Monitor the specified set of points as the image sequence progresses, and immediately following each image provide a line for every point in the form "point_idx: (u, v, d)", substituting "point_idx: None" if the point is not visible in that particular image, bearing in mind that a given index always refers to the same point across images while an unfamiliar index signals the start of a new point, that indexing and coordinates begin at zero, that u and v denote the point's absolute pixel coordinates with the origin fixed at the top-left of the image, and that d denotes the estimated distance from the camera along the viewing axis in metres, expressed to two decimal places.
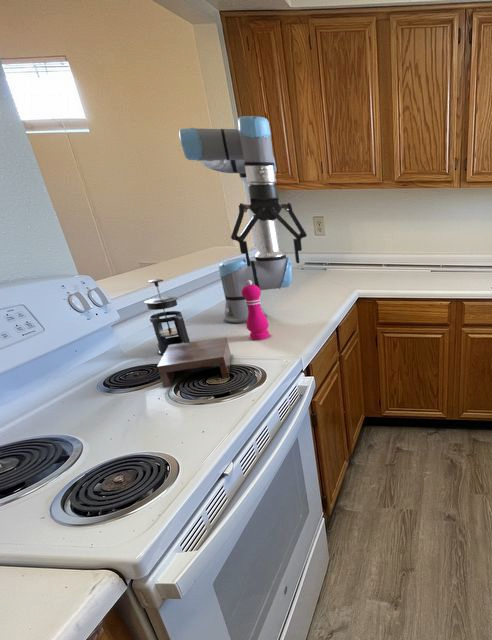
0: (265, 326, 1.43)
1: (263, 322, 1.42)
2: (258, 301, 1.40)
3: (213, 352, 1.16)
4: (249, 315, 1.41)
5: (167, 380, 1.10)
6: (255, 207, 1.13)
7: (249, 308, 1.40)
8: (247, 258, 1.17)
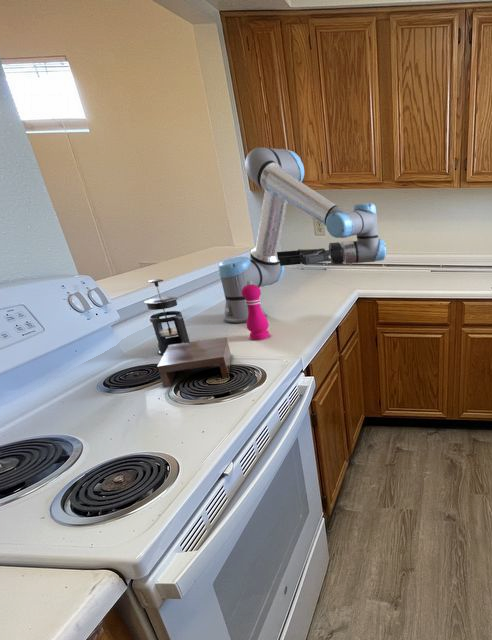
0: (265, 326, 1.43)
1: (263, 322, 1.42)
2: (258, 301, 1.40)
3: (213, 352, 1.16)
4: (249, 315, 1.41)
5: (167, 380, 1.10)
6: None
7: (249, 308, 1.40)
8: None
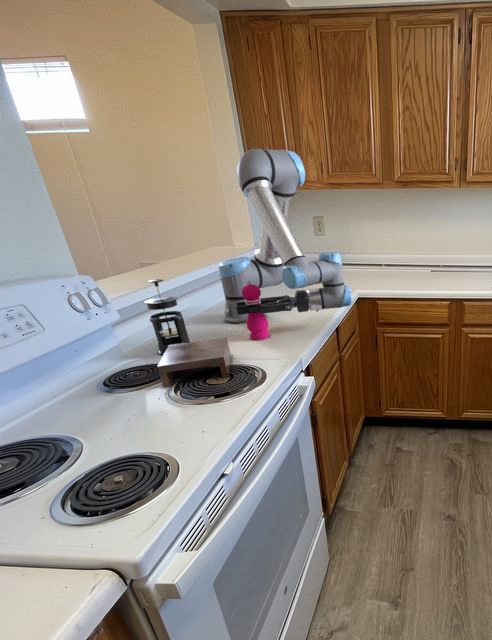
0: (265, 326, 1.43)
1: (263, 322, 1.42)
2: (258, 301, 1.40)
3: (213, 352, 1.16)
4: (249, 315, 1.41)
5: (167, 380, 1.10)
6: None
7: None
8: None
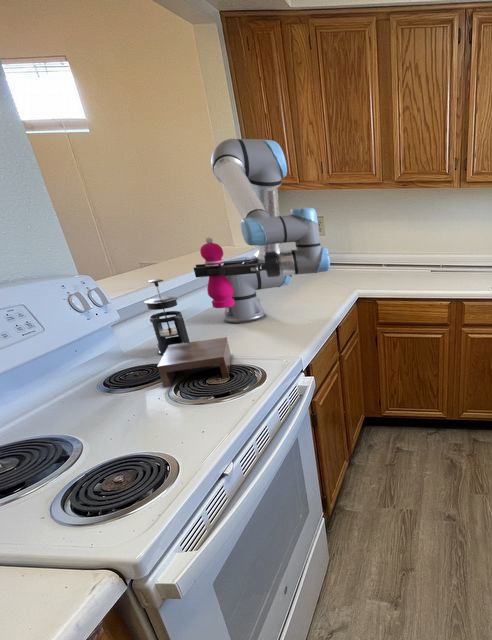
0: (229, 292, 1.24)
1: (227, 288, 1.23)
2: (220, 263, 1.21)
3: (213, 352, 1.16)
4: (210, 279, 1.22)
5: (167, 380, 1.10)
6: None
7: None
8: None
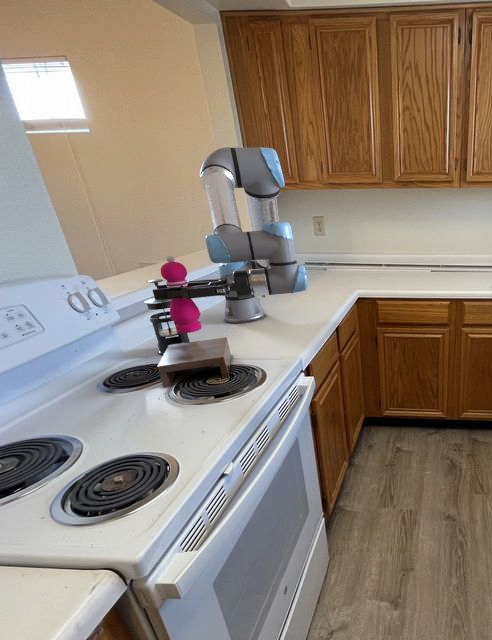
0: (194, 316, 1.12)
1: (191, 311, 1.11)
2: (183, 284, 1.09)
3: (213, 352, 1.16)
4: (172, 301, 1.10)
5: (167, 380, 1.10)
6: (229, 291, 1.13)
7: None
8: None
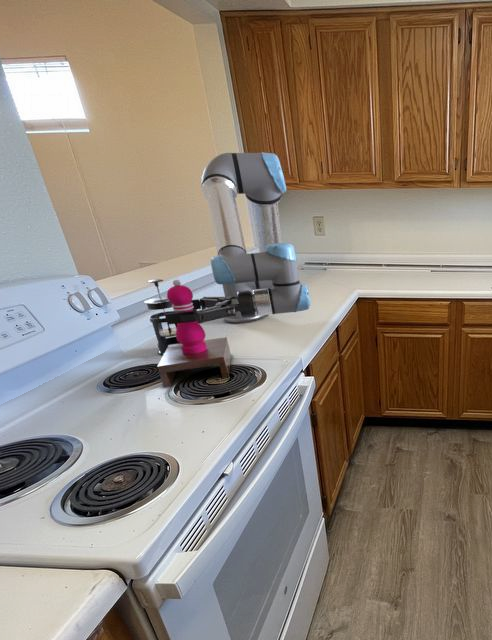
0: (199, 337, 1.15)
1: (197, 333, 1.14)
2: (189, 307, 1.12)
3: (213, 352, 1.16)
4: (178, 324, 1.13)
5: (167, 380, 1.10)
6: None
7: None
8: None
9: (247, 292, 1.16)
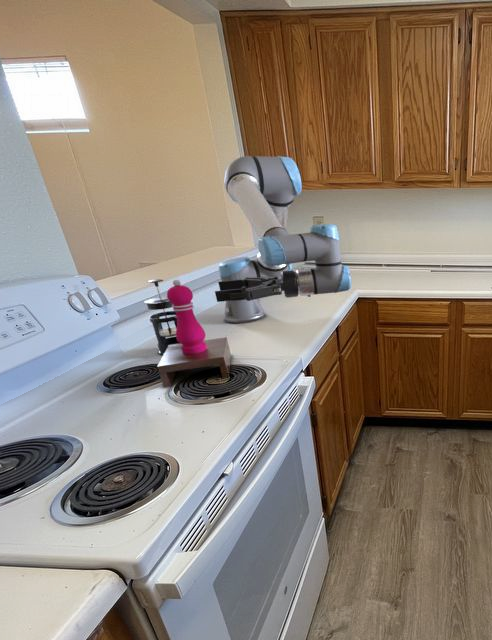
0: (199, 337, 1.15)
1: (197, 333, 1.14)
2: (189, 307, 1.12)
3: (213, 352, 1.16)
4: (178, 324, 1.13)
5: (167, 380, 1.10)
6: None
7: (178, 315, 1.12)
8: None
9: (291, 272, 1.18)
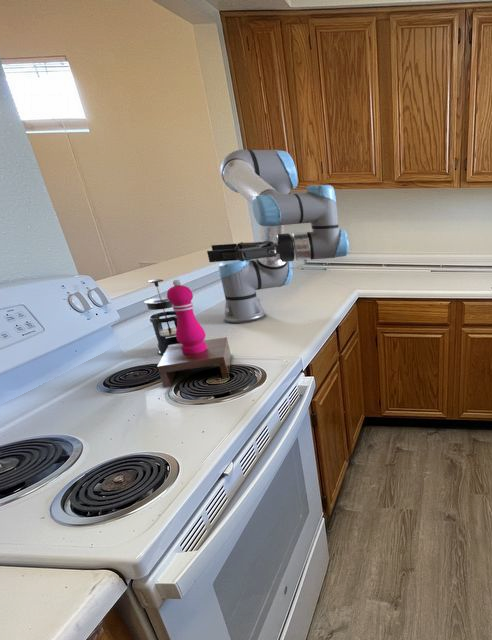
0: (199, 337, 1.15)
1: (197, 333, 1.14)
2: (189, 307, 1.12)
3: (213, 352, 1.16)
4: (178, 324, 1.13)
5: (167, 380, 1.10)
6: None
7: (178, 315, 1.12)
8: None
9: (287, 234, 1.14)
